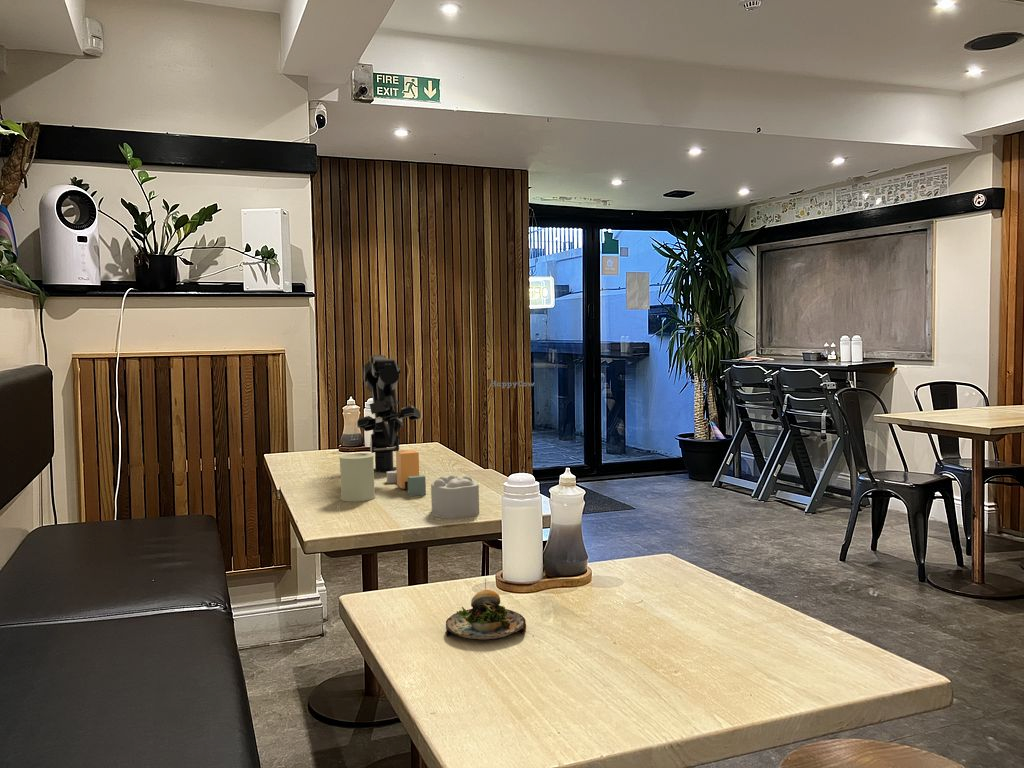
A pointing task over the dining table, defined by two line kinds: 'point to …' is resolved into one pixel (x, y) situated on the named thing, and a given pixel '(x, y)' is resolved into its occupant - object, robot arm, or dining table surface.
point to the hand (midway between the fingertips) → (391, 445)
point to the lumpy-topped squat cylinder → (455, 497)
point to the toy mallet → (410, 483)
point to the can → (357, 477)
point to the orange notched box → (406, 466)
